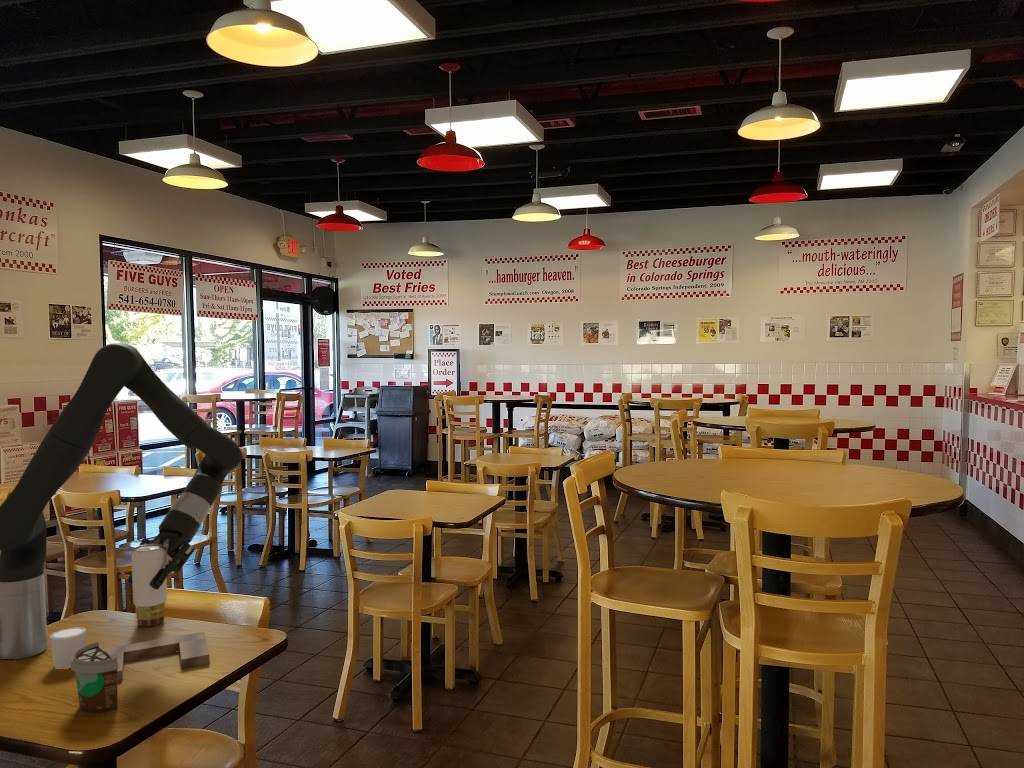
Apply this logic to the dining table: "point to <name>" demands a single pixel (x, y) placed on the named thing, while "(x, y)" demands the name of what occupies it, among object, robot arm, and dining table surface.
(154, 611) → the sauce bottle
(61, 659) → the white short cylinder
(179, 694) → the dining table surface
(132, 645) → the notched board
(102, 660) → the food container
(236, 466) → the robot arm
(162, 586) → the can
